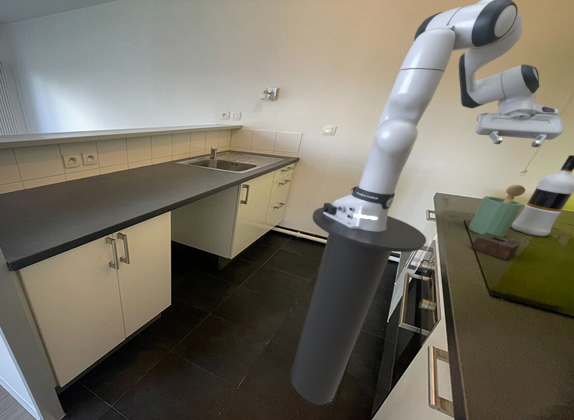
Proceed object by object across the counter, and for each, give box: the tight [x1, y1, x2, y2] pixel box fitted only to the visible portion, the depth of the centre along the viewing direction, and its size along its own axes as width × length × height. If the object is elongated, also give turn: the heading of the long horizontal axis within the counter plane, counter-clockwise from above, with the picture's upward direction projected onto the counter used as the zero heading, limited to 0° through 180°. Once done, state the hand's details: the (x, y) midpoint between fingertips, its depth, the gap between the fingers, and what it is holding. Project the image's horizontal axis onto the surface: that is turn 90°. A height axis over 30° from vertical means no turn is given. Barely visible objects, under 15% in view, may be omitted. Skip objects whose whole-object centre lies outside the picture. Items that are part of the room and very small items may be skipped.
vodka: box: [510, 154, 574, 237], centre depth 91 cm, size 9×9×30 cm
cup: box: [468, 195, 524, 238], centre depth 92 cm, size 9×9×13 cm
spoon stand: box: [471, 233, 521, 261], centre depth 79 cm, size 8×8×4 cm
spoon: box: [503, 184, 526, 204], centre depth 89 cm, size 4×2×19 cm, turn 60°
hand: (516, 144), depth 85 cm, fingers open, 8 cm apart
